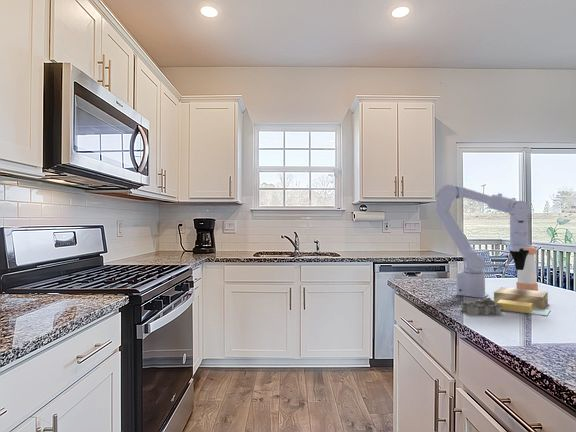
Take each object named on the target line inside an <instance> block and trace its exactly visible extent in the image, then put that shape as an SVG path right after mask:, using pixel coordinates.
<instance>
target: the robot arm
mask: <svg viewBox="0 0 576 432" xmlns="http://www.w3.org/2000/svg"><path fill="white" fill-rule="evenodd" d="M458 199H468V200H472V201H476V202H480V203H483V204H486V205H487V207H488V208H490V209H491V210H494V211H499V212H502V213H505V214H509V234H510V235H509V243H510V244H509V248H512V249H510V250H509V253H510V255H511V256H512V259H513V262H514V263H513V264H514V266H515V269H516V270H517V271H518V270H523V269H524V265H525V260H526V257H527V255H528V253H529V250H523V249H526V248H528V247H533V245H532V244H529V221H528V217H529V216H528V214H529V213H530V211H531V208H530V205H529V204H528V203H527V202H525V201H523V200H517V199H516V198H515V197H508V196H504V195H503V194H502V193H500V192H498V193H493V194H491V195H489V194H485V193H483V192H481V191H480V192H479V191H476V190H473V189H470V188H467V187H465V186H464V187H463V186H460V185H453V184H451V183H450V184H444V185H443V186H442V187H441V188H440V189H439V190H438V191H437V194H436V196H435V210H434V211H435V214H436V216H437V218H438V219H439V220H440V222H441V223H442V226H443V227H444V229H445V230H446V233H448V235H449V237H450V238H451V240H452V241H453V243H454V245H455V246H456V248H457V250H458V252H459V254H460V255H461V257H462V259H463V265H464V267H465V268H464V269H463V271H461V270H460V271H458V272H457V276H456V293H455V294H456V296H462V297H471V298H480V299H482V298H487V296H488V295H489V293H486V273H485V272H486V271H485V268H486V261H485V259H484V258H483V257H482V256H480V255H478V253H477V252H476V251H475V248H473V247H472V245H471V243H470V242H469V240H468V239H467V237H466V235H465V234H464V232H463V231H462V229H461V228H460V226H459V224H458V223H457V221H456V219H455V218H454V216H453V215H452V213H451V212H450V209H451V207H452V203H453V202H454V200H458Z"/></svg>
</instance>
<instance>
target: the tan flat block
mask: <svg viewBox="0 0 576 432" xmlns="http://www.w3.org/2000/svg"><path fill="white" fill-rule="evenodd" d="M548 293H549V292H548V291H542V290H538V291H534V290H523V289H517V288H513V287H512V288H511V287H500V288H498V289H497V290H494V291H493V301H494V302H495V303H497V302H498V301H499V300H500V299H501V300H510V301H518V302H527V303H533V308H539V309H546V307H547V305H548V303H549V302H548V296H549V295H548Z"/></svg>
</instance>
